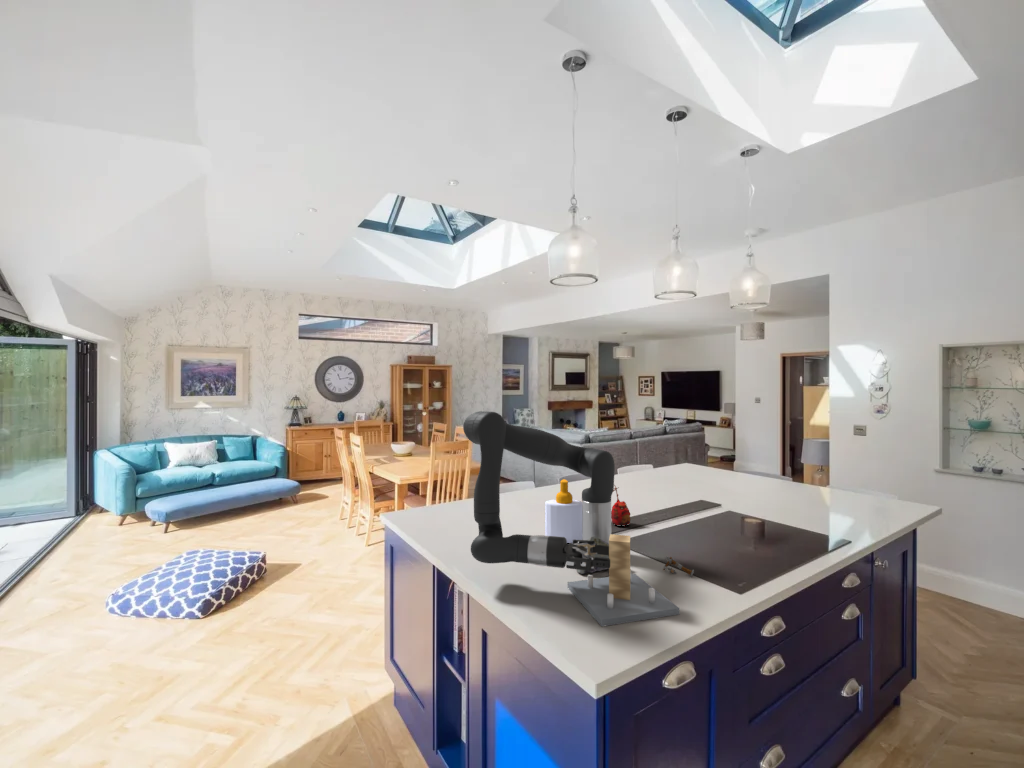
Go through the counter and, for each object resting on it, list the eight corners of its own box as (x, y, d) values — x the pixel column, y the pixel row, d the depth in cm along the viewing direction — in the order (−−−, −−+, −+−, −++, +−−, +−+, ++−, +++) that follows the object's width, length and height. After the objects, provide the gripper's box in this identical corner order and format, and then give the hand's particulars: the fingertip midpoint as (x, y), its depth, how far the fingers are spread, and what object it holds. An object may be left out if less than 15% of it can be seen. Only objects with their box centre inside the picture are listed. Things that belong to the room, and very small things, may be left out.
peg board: (567, 587, 121) (567, 570, 121) (635, 579, 126) (634, 562, 126) (601, 626, 102) (601, 606, 102) (679, 614, 107) (679, 595, 107)
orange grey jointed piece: (660, 566, 133) (667, 553, 132) (687, 582, 129) (694, 569, 129) (659, 568, 131) (666, 555, 130) (686, 585, 128) (693, 571, 127)
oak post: (609, 597, 112) (609, 540, 112) (610, 588, 117) (610, 534, 117) (630, 600, 111) (629, 542, 111) (630, 591, 116) (630, 535, 116)
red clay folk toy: (621, 529, 170) (620, 489, 170) (606, 524, 175) (606, 485, 175) (634, 525, 174) (634, 486, 174) (620, 521, 180) (619, 483, 180)
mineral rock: (622, 566, 135) (622, 532, 135) (618, 581, 125) (618, 544, 125) (579, 561, 139) (579, 528, 139) (572, 575, 129) (572, 539, 129)
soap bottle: (582, 536, 162) (582, 479, 162) (584, 544, 153) (584, 484, 153) (545, 535, 163) (545, 478, 163) (544, 543, 155) (544, 483, 155)
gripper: (542, 545, 112) (609, 552, 108) (551, 528, 125) (612, 532, 121) (542, 576, 112) (609, 583, 108) (551, 555, 125) (612, 561, 121)
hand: (611, 556), depth 114 cm, fingers open, 8 cm apart
